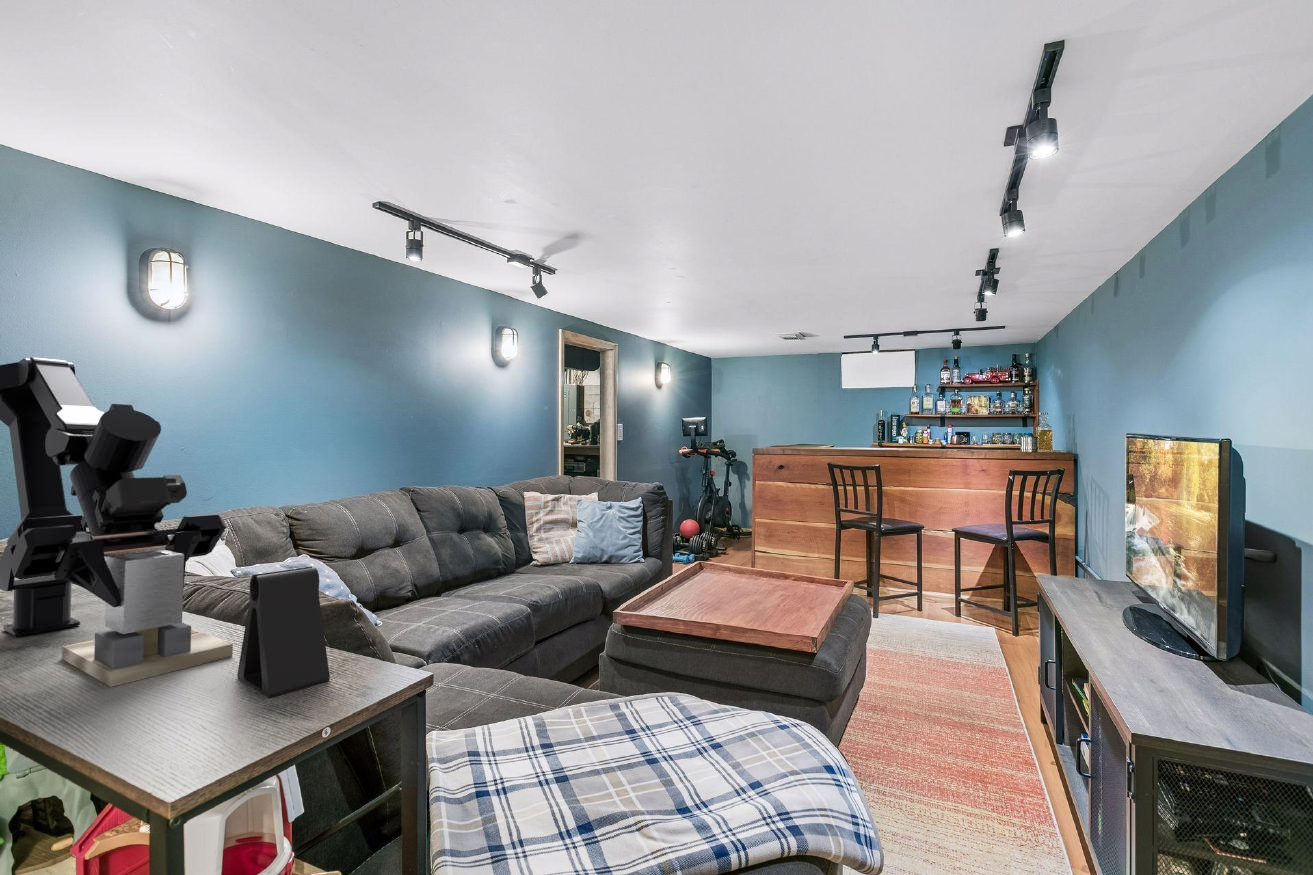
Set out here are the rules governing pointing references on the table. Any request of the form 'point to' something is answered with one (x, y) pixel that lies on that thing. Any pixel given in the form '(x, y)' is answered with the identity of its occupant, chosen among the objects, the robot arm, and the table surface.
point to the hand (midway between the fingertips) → (150, 599)
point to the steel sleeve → (146, 590)
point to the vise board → (151, 663)
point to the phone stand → (284, 633)
